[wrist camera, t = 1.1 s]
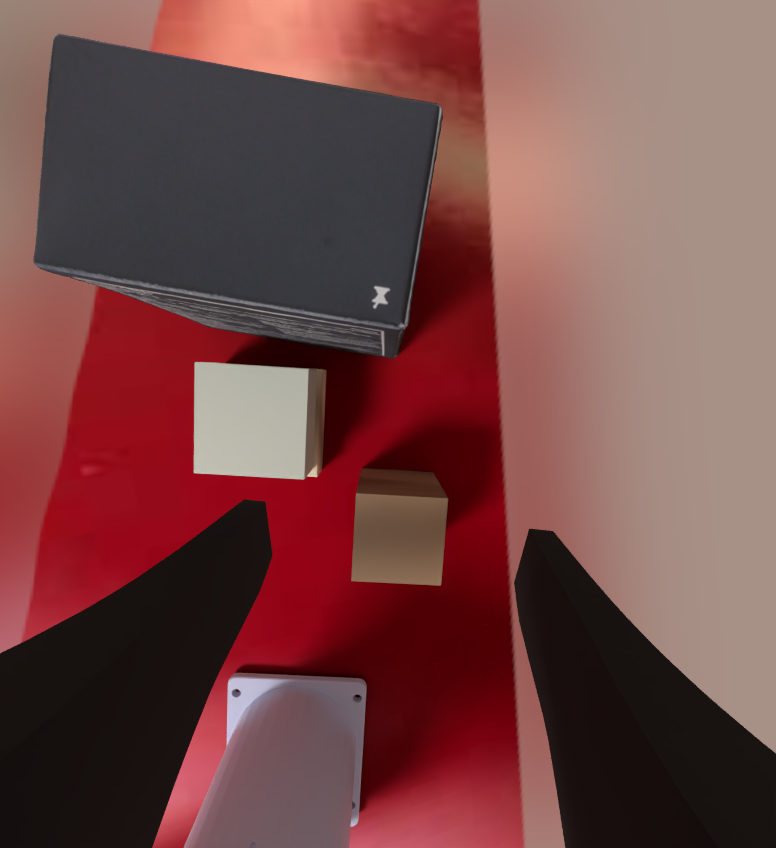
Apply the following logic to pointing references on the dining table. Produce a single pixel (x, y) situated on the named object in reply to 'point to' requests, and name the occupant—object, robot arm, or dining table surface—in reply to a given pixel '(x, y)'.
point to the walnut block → (399, 527)
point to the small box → (236, 194)
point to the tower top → (254, 420)
